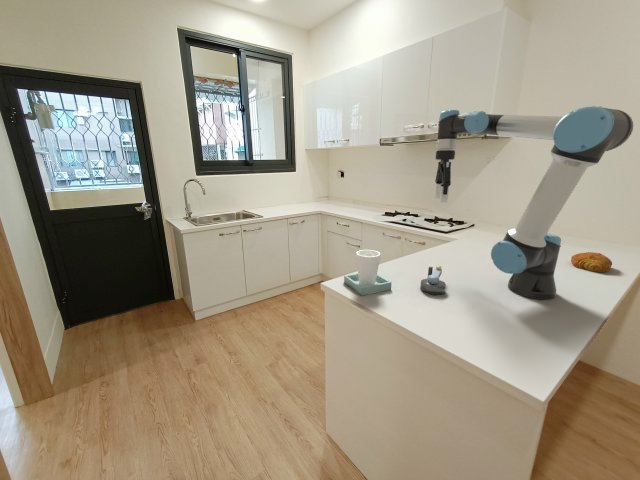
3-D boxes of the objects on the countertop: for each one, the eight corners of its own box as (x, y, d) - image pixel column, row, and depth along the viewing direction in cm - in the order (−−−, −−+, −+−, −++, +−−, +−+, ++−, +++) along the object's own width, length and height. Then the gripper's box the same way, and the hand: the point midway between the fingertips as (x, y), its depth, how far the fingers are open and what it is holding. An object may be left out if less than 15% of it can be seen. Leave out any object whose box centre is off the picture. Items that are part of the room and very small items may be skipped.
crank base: (451, 292, 113) (453, 276, 111) (432, 297, 109) (433, 280, 107) (429, 281, 123) (430, 266, 122) (410, 285, 120) (411, 270, 118)
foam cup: (364, 290, 113) (365, 258, 109) (350, 282, 121) (351, 251, 117) (383, 285, 117) (385, 254, 114) (369, 277, 125) (370, 248, 122)
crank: (437, 285, 111) (438, 277, 110) (426, 283, 113) (427, 275, 112) (443, 274, 122) (444, 266, 121) (433, 272, 124) (434, 264, 123)
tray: (391, 289, 116) (391, 282, 115) (361, 295, 110) (361, 288, 110) (371, 277, 128) (372, 270, 127) (344, 282, 123) (344, 275, 122)
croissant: (609, 271, 140) (614, 254, 138) (609, 275, 129) (615, 257, 127) (570, 263, 149) (574, 247, 148) (567, 266, 138) (572, 250, 137)
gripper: (431, 150, 138) (427, 196, 143) (442, 149, 114) (436, 203, 120) (448, 150, 136) (443, 196, 142) (462, 148, 113) (456, 204, 118)
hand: (440, 200), depth 131 cm, fingers open, 13 cm apart
